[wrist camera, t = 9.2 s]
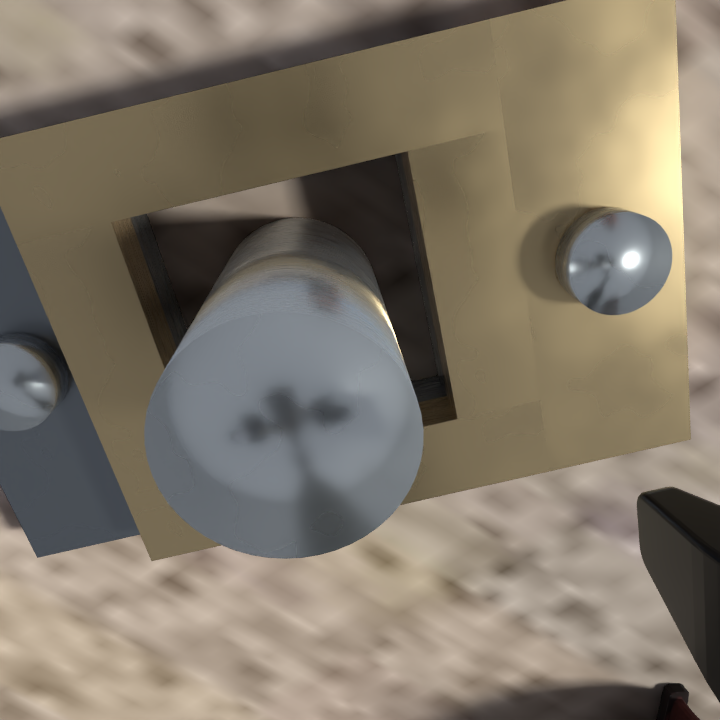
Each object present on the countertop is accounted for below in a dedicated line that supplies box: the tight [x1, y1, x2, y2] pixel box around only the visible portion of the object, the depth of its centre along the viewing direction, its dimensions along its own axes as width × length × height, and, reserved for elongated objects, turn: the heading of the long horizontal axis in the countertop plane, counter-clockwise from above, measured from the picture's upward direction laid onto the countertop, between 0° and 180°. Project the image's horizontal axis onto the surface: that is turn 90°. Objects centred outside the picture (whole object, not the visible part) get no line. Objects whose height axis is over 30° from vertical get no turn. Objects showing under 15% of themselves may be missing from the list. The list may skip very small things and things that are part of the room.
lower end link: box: [0, 153, 447, 558], centre depth 18 cm, size 12×16×2 cm
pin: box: [144, 218, 423, 559], centre depth 15 cm, size 4×4×9 cm
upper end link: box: [0, 0, 691, 561], centre depth 17 cm, size 12×16×4 cm
